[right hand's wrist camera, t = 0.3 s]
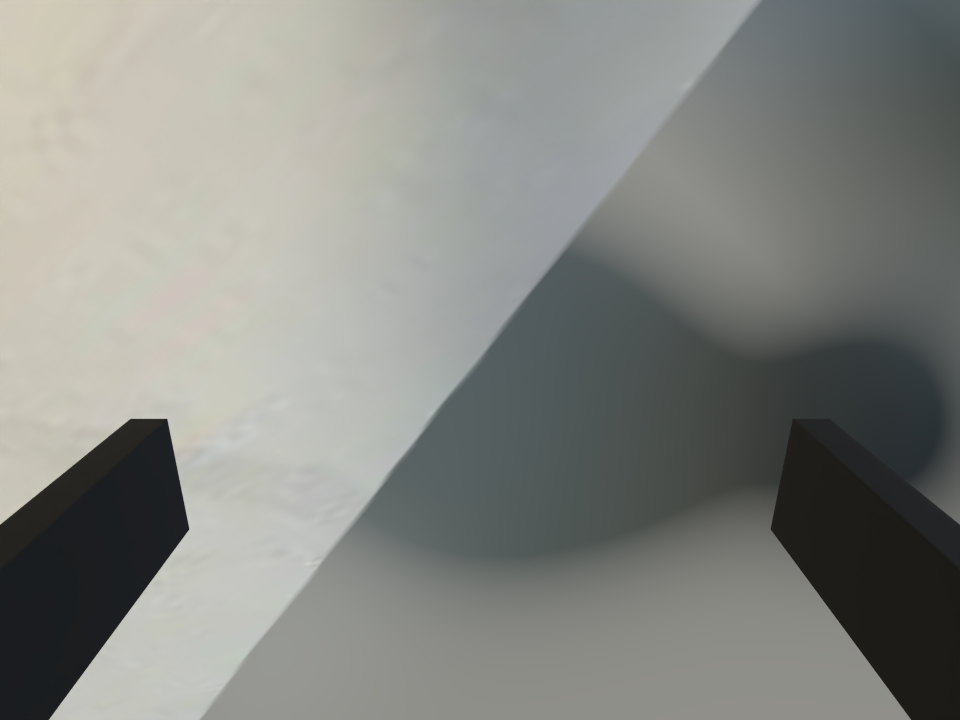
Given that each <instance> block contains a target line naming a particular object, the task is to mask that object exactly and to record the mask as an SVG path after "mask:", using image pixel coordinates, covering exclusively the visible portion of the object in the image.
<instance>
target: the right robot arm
mask: <svg viewBox="0 0 960 720" xmlns="http://www.w3.org/2000/svg"><path fill="white" fill-rule="evenodd" d="M188 530H189V525H188V520H187V515H186V510H185V506H184V501H183V496H182V491H181V486H180V481H179V476H178V471H177V466H176V461H175V456H174V451H173V446H172V441H171V436H170V431H169V426H168V421H167V419H130V420H129V421H128V422H126V423H125V424H124V425H123V426H121V427H120V428H119V429H118V430H116V431H115V432H114V433H113V434H112V435H110V436H109V437H108V438H107V439H105V440H104V441H103V442H102V443H100V444H99V445H98V446H97V447H95V448H94V449H93V450H92V451H91V452H89V453H88V454H87V455H86V456H84V457H83V458H82V459H81V460H79V461H78V462H77V463H76V464H75V465H73V466H72V467H71V468H70V469H68V470H67V471H66V472H65V473H63V474H62V475H61V476H60V477H59V478H57V479H56V480H55V481H54V482H52V483H51V484H50V485H49V486H47V487H46V488H45V489H44V490H43V491H41V492H40V493H39V494H38V495H36V496H35V497H34V498H33V499H31V500H30V501H29V502H28V503H27V504H25V505H24V506H23V507H22V508H20V509H19V510H18V511H17V512H15V513H14V514H13V515H12V516H11V517H9V518H8V519H7V520H6V521H4V522H3V523H2V524H1V525H0V720H49V719H50V717H51V716H52V715H53V713H54V712H55V711H56V709H57V708H58V706H59V705H60V704H61V702H62V701H63V700H64V698H65V697H66V696H67V694H68V693H69V692H70V690H71V689H72V687H73V686H74V685H75V683H76V682H77V681H78V679H79V678H80V677H81V675H82V674H83V673H84V671H85V670H86V669H87V667H88V666H89V664H90V663H91V662H92V660H93V659H94V658H95V656H96V655H97V654H98V652H99V651H100V650H101V648H102V647H103V645H104V644H105V643H106V641H107V640H108V639H109V637H110V636H111V635H112V633H113V632H114V631H115V629H116V628H117V627H118V625H119V624H120V622H121V621H122V620H123V618H124V617H125V616H126V614H127V613H128V612H129V610H130V609H131V608H132V606H133V605H134V603H135V602H136V601H137V599H138V598H139V597H140V595H141V594H142V593H143V591H144V590H145V589H146V587H147V586H148V584H149V583H150V582H151V580H152V579H153V578H154V576H155V575H156V574H157V572H158V571H159V570H160V568H161V567H162V566H163V564H164V563H165V561H166V560H167V559H168V557H169V556H170V555H171V553H172V552H173V551H174V549H175V548H176V547H177V545H178V544H179V542H180V541H181V540H182V538H183V537H184V536H185V534H186V533H187V532H188ZM771 530H772V532H773V533H774V534H775V536H776V537H777V538H778V540H779V541H780V542H781V544H782V545H783V547H784V548H785V549H786V551H787V552H788V553H789V555H790V556H791V557H792V559H793V560H794V561H795V563H796V564H797V565H798V567H799V568H800V570H801V571H802V572H803V574H804V575H805V576H806V578H807V579H808V580H809V582H810V583H811V584H812V586H813V587H814V589H815V590H816V591H817V592H818V594H819V595H820V597H821V598H822V599H823V601H824V602H825V603H826V605H827V606H828V608H829V609H830V610H831V612H832V613H833V614H834V616H835V617H836V618H837V620H838V621H839V622H840V624H841V625H842V627H843V628H844V629H845V630H846V632H847V633H848V635H849V636H850V637H851V639H852V640H853V641H854V643H855V644H856V645H857V647H858V648H859V650H860V651H861V652H862V654H863V655H864V656H865V658H866V659H867V660H868V662H869V663H870V664H871V666H872V667H873V668H874V670H875V671H876V673H877V674H878V675H879V677H880V678H881V679H882V681H883V682H884V683H885V685H886V686H887V687H888V689H889V690H890V692H891V693H892V694H893V696H894V697H895V698H896V700H897V701H898V702H899V704H900V705H901V706H902V708H903V709H904V711H905V712H906V713H907V715H908V716H909V717H910V719H911V720H960V525H959V524H958V523H957V522H956V521H954V520H953V519H952V518H951V517H949V516H948V515H947V514H946V513H945V512H943V511H942V510H941V509H940V508H938V507H937V506H936V505H935V504H933V503H932V502H931V501H930V500H929V499H927V498H926V497H925V496H924V495H922V494H921V493H920V492H919V491H917V490H916V489H915V488H914V487H913V486H911V485H910V484H909V483H908V482H906V481H905V480H904V479H903V478H901V477H900V476H899V475H898V474H897V473H895V472H894V471H893V470H892V469H890V468H889V467H888V466H887V465H885V464H884V463H883V462H882V461H880V460H879V459H878V458H877V457H876V456H874V455H873V454H872V453H871V452H869V451H868V450H867V449H866V448H864V447H863V446H862V445H861V444H860V443H858V442H857V441H856V440H855V439H853V438H852V437H851V436H850V435H848V434H847V433H846V432H845V431H844V430H842V429H841V428H840V427H839V426H837V425H836V424H835V423H834V422H832V421H831V420H830V419H793V421H792V426H791V431H790V436H789V441H788V446H787V451H786V456H785V461H784V466H783V471H782V476H781V481H780V486H779V491H778V496H777V501H776V506H775V511H774V516H773V520H772V525H771Z"/></svg>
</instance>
